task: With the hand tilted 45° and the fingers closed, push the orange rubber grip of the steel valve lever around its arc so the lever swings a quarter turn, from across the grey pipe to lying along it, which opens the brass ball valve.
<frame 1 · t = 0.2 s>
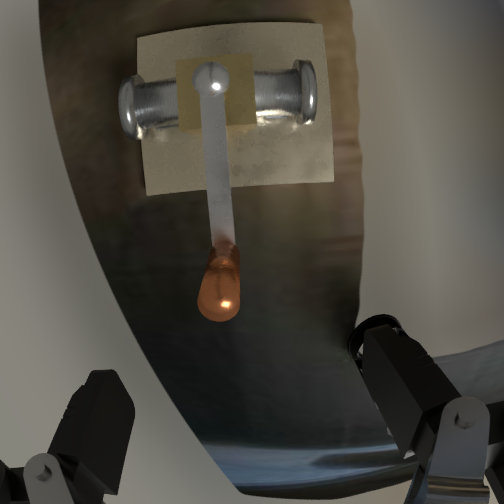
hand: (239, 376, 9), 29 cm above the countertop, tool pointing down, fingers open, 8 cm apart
valve: (221, 103, 32), on the countertop
valve lever: (213, 171, 19), point 16 cm above the countertop, hinge at 0.0°
french press: (375, 340, 45), on the countertop
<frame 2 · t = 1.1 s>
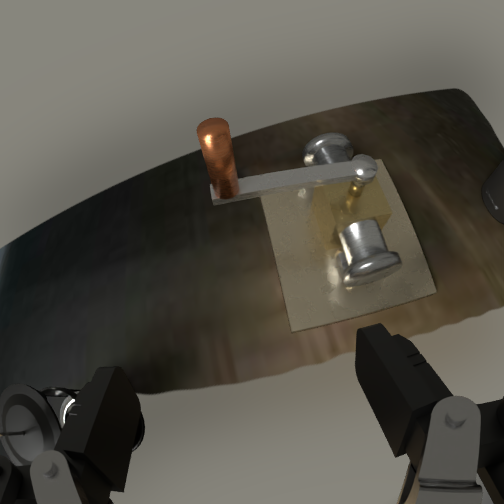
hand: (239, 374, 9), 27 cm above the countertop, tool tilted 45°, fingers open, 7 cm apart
valve: (341, 226, 41), on the countertop
valve lever: (300, 152, 26), point 16 cm above the countertop, hinge at 0.0°
french press: (111, 423, 32), on the countertop
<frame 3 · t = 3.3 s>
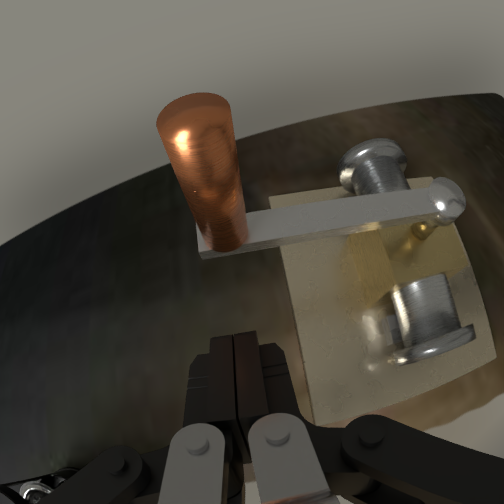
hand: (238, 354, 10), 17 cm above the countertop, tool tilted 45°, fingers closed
valve: (385, 271, 28), on the countertop
valve lever: (365, 173, 13), point 16 cm above the countertop, hinge at 0.0°
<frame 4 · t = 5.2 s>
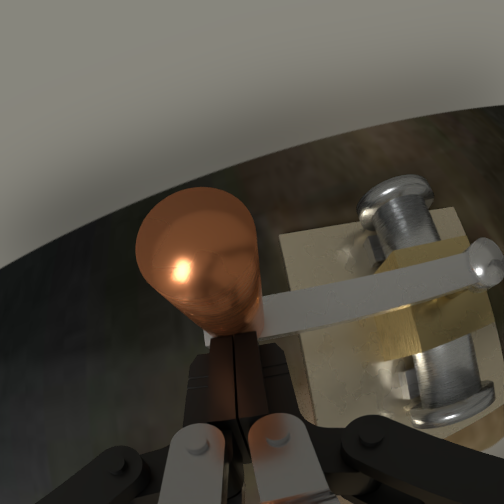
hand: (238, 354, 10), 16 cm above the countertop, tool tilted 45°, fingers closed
valve: (403, 316, 25), on the countertop
valve lever: (414, 263, 10), point 16 cm above the countertop, hinge at 0.0°, touching gripper
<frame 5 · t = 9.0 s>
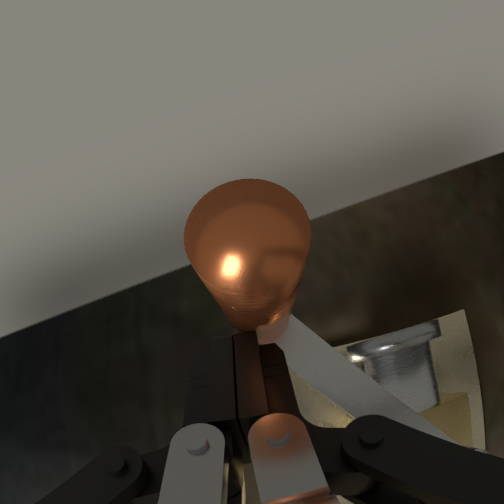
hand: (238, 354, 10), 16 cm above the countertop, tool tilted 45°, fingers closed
valve: (386, 439, 21), on the countertop
valve lever: (414, 419, 8), point 16 cm above the countertop, hinge at -50.6°, touching gripper
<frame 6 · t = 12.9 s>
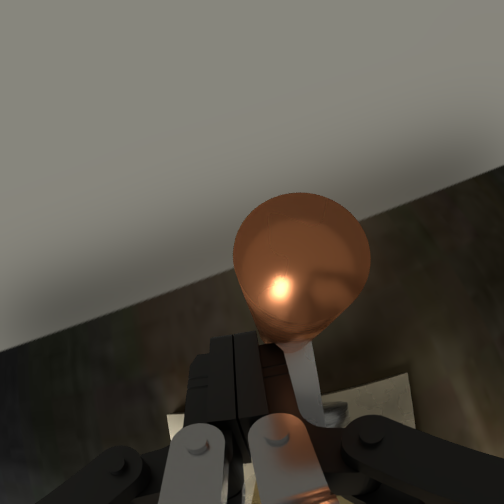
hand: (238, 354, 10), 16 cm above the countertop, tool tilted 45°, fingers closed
valve: (304, 497, 19), on the countertop
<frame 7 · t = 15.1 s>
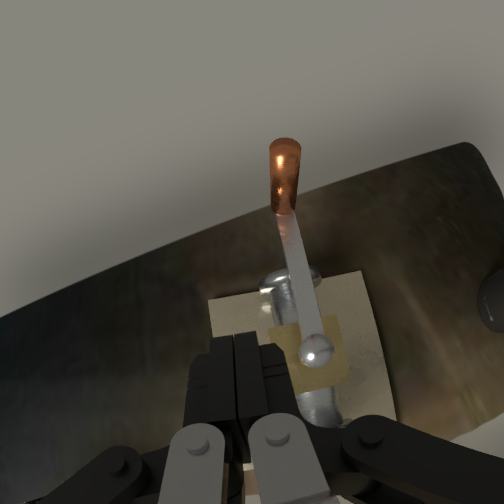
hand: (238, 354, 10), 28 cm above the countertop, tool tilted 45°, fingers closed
valve: (301, 361, 36), on the countertop
valve lever: (302, 256, 24), point 16 cm above the countertop, hinge at -90.6°
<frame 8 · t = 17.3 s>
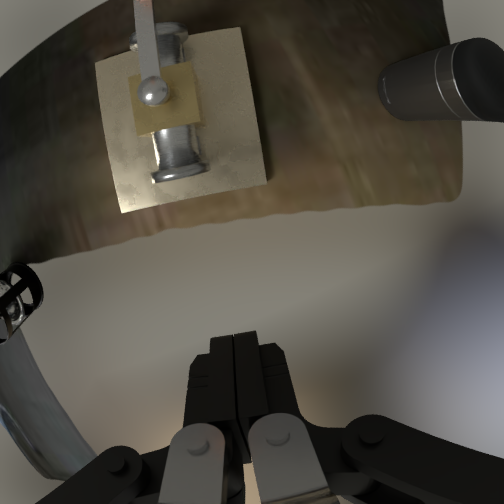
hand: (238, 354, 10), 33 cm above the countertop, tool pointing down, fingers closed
valve: (175, 106, 36), on the countertop
valve lever: (135, 14, 18), point 16 cm above the countertop, hinge at -90.6°
french press: (23, 287, 43), on the countertop
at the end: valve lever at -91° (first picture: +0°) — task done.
